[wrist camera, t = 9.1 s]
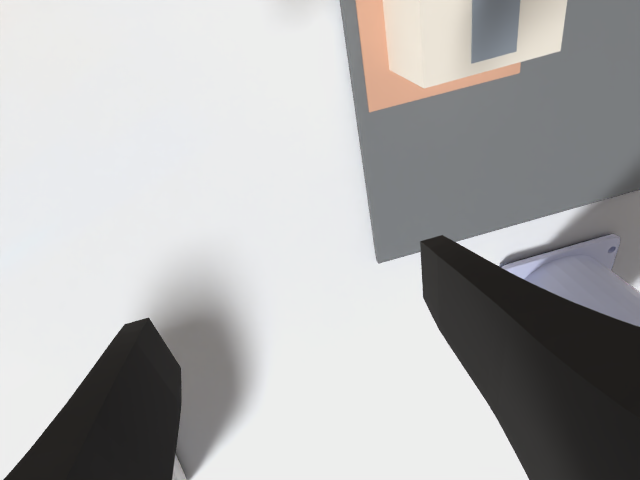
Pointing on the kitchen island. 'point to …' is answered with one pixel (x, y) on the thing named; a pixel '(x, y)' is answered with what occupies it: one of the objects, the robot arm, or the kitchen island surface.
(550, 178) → the mat
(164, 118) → the kitchen island surface
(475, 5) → the card deck
